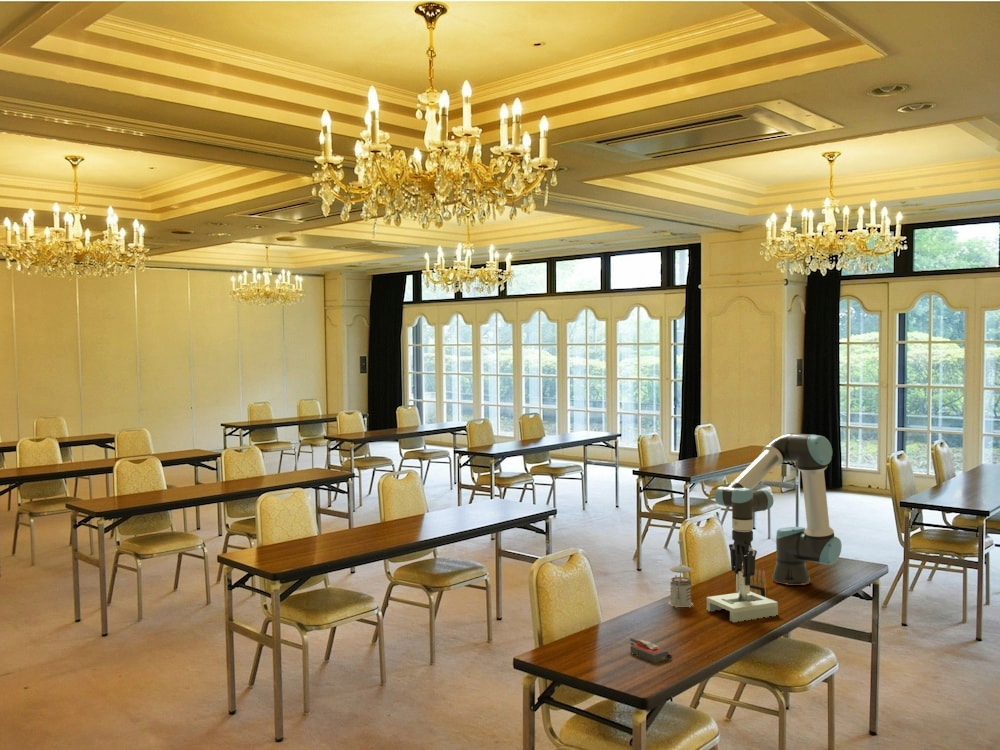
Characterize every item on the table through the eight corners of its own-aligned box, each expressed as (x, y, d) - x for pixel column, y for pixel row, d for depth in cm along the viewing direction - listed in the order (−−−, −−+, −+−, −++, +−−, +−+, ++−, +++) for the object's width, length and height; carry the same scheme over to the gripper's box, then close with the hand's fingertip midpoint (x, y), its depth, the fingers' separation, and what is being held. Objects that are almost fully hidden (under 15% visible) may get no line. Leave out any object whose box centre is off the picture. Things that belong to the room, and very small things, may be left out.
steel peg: (744, 608, 309) (743, 568, 309) (753, 612, 304) (753, 572, 304) (732, 609, 307) (731, 570, 307) (741, 613, 302) (741, 573, 302)
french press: (696, 602, 320) (695, 538, 320) (689, 610, 310) (689, 544, 309) (671, 599, 324) (670, 536, 324) (664, 607, 314) (663, 542, 313)
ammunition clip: (767, 600, 322) (767, 569, 322) (764, 601, 320) (764, 570, 320) (743, 594, 330) (743, 565, 330) (740, 595, 328) (740, 566, 328)
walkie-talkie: (677, 659, 259) (632, 642, 276) (676, 646, 259) (632, 629, 276) (657, 665, 254) (613, 647, 271) (657, 651, 254) (613, 634, 271)
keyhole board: (749, 603, 317) (749, 590, 317) (777, 615, 302) (777, 601, 302) (706, 610, 310) (706, 596, 309) (733, 622, 295) (733, 608, 295)
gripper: (720, 526, 312) (721, 588, 312) (748, 534, 297) (748, 599, 297) (736, 525, 314) (737, 586, 315) (764, 533, 300) (765, 596, 300)
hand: (742, 592), depth 306 cm, fingers closed on steel peg, 3 cm apart
